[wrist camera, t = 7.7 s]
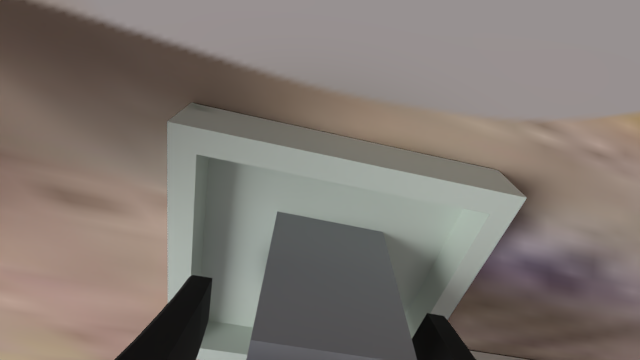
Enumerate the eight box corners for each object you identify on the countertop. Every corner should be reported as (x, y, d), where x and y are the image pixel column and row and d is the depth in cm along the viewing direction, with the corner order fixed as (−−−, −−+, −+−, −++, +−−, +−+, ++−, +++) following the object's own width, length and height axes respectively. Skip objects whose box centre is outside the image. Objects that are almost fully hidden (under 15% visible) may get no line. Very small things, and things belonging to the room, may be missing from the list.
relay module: (356, 303, 14) (373, 448, 9) (261, 287, 13) (231, 432, 9) (386, 232, 12) (426, 371, 7) (277, 211, 12) (249, 346, 7)
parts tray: (399, 350, 16) (408, 387, 15) (183, 318, 15) (168, 355, 14) (503, 171, 11) (532, 199, 10) (191, 102, 10) (166, 121, 9)
